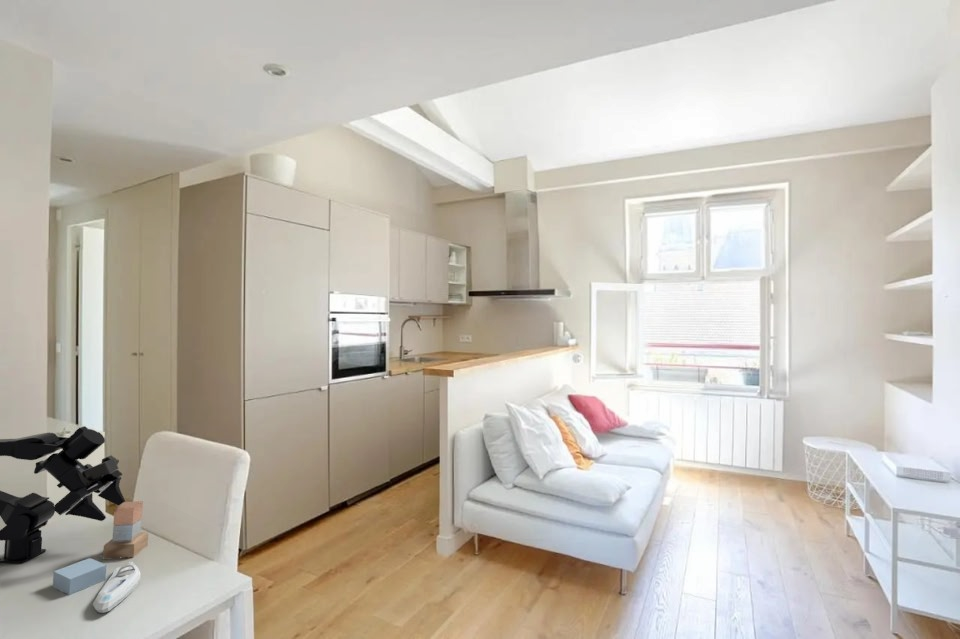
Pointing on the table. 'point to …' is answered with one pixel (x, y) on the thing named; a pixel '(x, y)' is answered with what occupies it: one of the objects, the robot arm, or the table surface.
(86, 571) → the stand
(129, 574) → the spaceship
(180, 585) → the table surface
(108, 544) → the stand
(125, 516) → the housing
